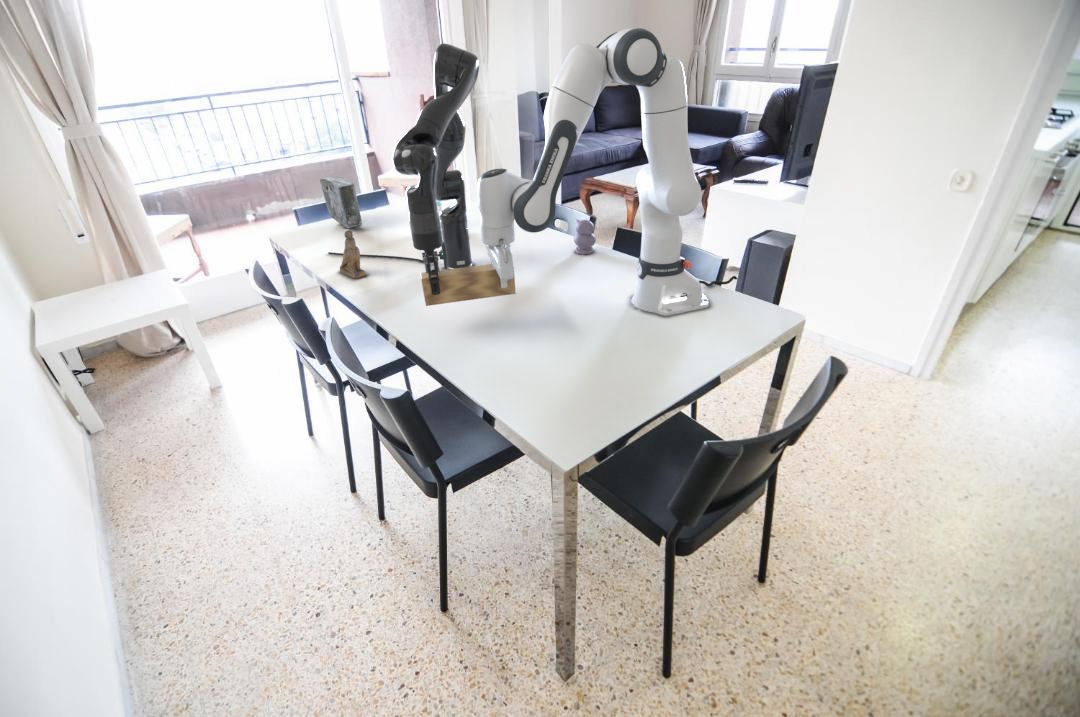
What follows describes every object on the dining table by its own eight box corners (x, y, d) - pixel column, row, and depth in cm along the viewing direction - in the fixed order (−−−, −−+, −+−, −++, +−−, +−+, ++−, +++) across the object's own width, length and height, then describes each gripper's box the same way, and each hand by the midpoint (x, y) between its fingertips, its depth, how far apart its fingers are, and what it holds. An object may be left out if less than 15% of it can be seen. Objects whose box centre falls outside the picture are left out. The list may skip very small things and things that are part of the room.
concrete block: (367, 229, 224) (357, 183, 213) (347, 233, 220) (336, 187, 209) (348, 217, 243) (338, 174, 232) (330, 221, 238) (318, 177, 228)
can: (445, 229, 220) (441, 202, 214) (429, 230, 220) (425, 202, 214) (447, 224, 226) (444, 198, 220) (432, 225, 226) (428, 198, 220)
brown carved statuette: (368, 281, 178) (362, 235, 166) (353, 285, 175) (347, 238, 163) (352, 266, 184) (346, 221, 172) (338, 270, 181) (331, 224, 169)
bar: (425, 306, 134) (421, 278, 130) (424, 299, 138) (420, 272, 134) (515, 293, 139) (513, 267, 135) (512, 287, 143) (510, 261, 139)
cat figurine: (599, 250, 190) (600, 219, 183) (587, 256, 185) (587, 224, 178) (582, 246, 195) (582, 215, 188) (569, 251, 190) (569, 220, 184)
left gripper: (443, 234, 121) (452, 299, 130) (438, 219, 133) (446, 279, 141) (411, 238, 119) (423, 303, 128) (409, 222, 131) (419, 282, 140)
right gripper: (518, 245, 124) (521, 296, 131) (502, 222, 140) (505, 268, 148) (493, 248, 122) (497, 299, 129) (480, 225, 139) (484, 271, 146)
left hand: (435, 290), depth 135 cm, fingers closed on bar, 4 cm apart
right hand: (501, 282), depth 139 cm, fingers closed on bar, 4 cm apart
